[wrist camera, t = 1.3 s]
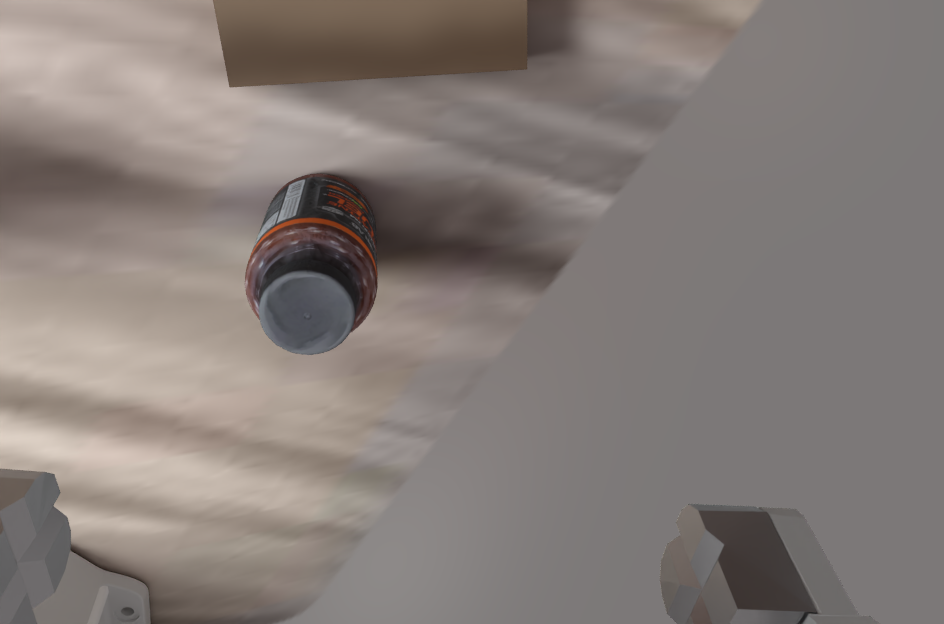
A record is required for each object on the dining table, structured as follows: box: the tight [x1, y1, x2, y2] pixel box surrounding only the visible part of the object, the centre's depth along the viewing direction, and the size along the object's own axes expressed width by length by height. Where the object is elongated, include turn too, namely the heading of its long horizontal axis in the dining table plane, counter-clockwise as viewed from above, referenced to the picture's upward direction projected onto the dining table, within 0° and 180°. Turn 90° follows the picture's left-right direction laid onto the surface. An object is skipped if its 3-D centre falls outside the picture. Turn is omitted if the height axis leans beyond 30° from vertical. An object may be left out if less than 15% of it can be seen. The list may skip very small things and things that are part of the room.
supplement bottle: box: [245, 174, 377, 355], centre depth 35 cm, size 6×6×11 cm
